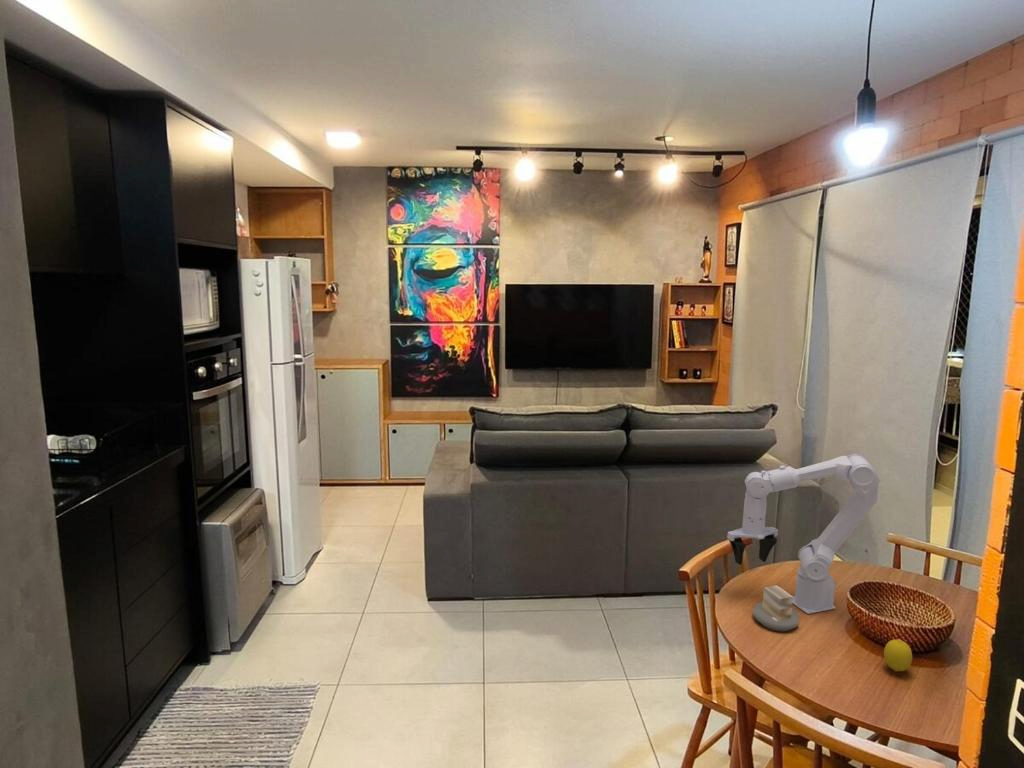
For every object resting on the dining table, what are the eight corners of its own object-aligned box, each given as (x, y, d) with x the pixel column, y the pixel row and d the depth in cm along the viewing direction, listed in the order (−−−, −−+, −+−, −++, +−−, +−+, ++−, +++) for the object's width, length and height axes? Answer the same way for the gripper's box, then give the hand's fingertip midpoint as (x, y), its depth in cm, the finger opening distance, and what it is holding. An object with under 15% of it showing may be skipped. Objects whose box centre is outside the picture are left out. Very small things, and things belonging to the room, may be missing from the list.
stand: (777, 607, 169) (778, 598, 169) (807, 629, 159) (808, 620, 159) (744, 613, 166) (744, 605, 166) (772, 636, 156) (773, 627, 155)
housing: (774, 605, 165) (776, 585, 164) (790, 617, 160) (793, 596, 159) (762, 608, 164) (764, 587, 163) (778, 620, 159) (780, 599, 157)
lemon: (907, 667, 144) (912, 636, 143) (911, 681, 139) (916, 649, 138) (880, 661, 147) (884, 630, 145) (883, 674, 142) (887, 643, 140)
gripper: (739, 524, 165) (735, 571, 168) (786, 519, 168) (782, 565, 171) (724, 513, 172) (721, 559, 175) (770, 509, 175) (766, 554, 178)
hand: (750, 561), depth 173 cm, fingers open, 7 cm apart
